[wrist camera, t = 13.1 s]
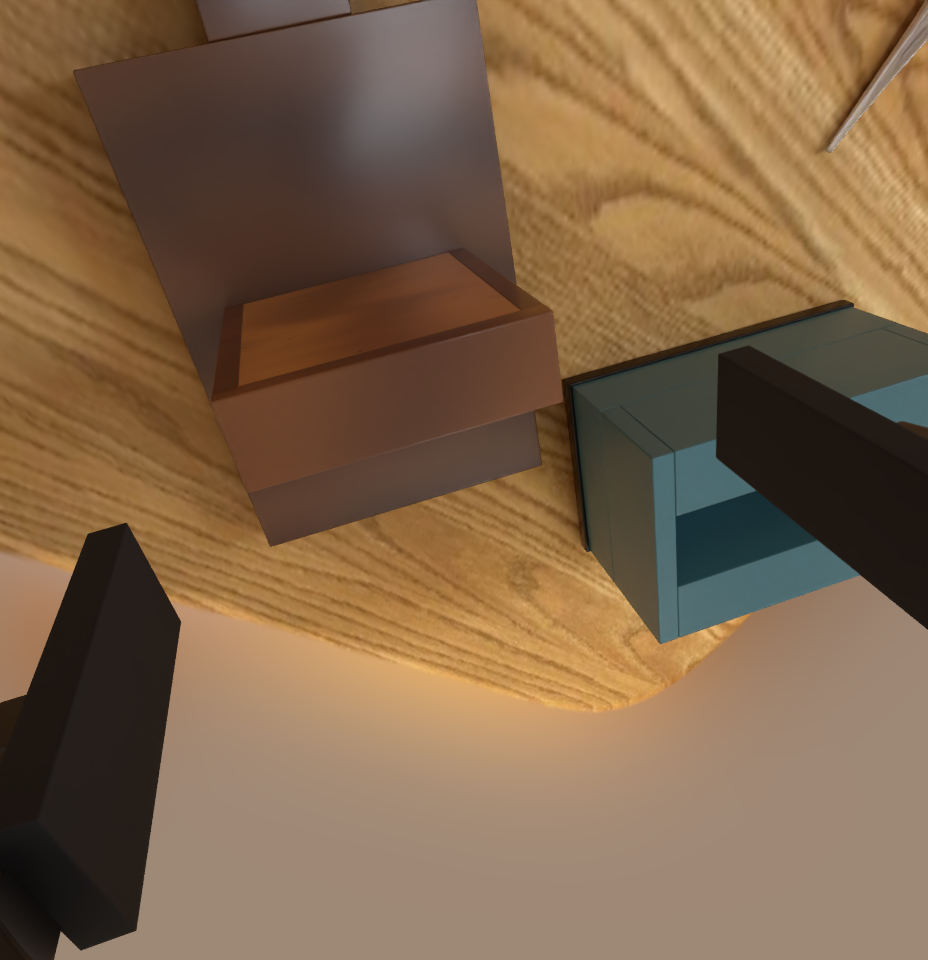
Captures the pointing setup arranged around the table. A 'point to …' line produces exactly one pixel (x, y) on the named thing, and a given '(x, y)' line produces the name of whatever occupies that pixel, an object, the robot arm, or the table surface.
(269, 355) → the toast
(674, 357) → the toaster
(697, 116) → the table surface
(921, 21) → the tweezers
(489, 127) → the bread board
